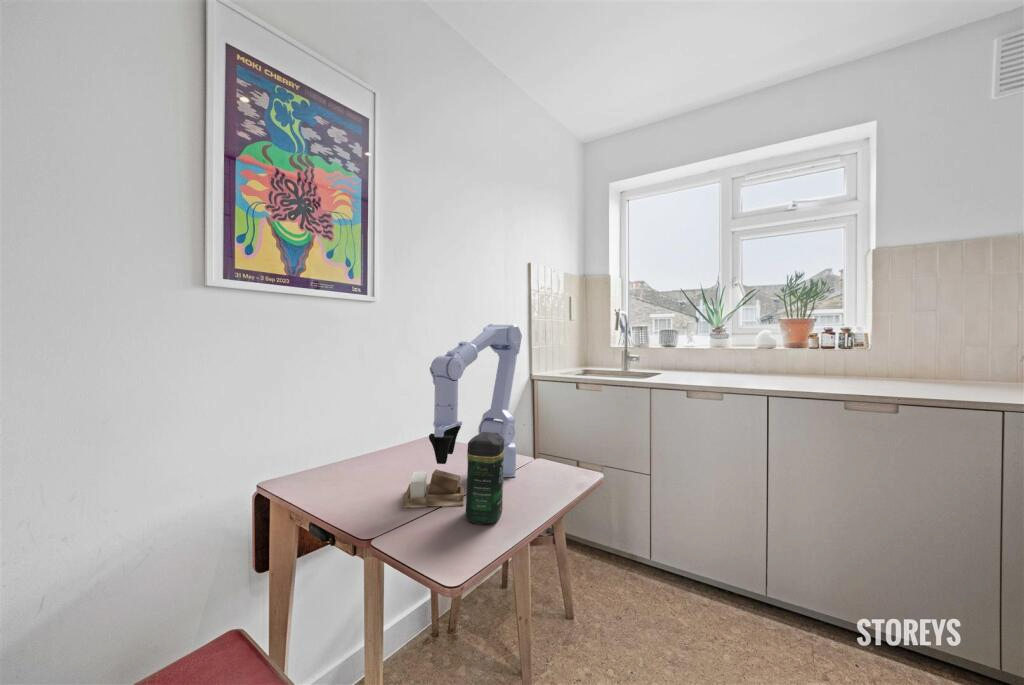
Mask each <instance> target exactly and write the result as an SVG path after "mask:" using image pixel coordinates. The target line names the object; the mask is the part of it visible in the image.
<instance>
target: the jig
mask: <svg viewBox="0 0 1024 685" xmlns="http://www.w3.org/2000/svg"><path fill="white" fill-rule="evenodd" d="M429 486H430V482H427V487H426V495H425V498H413V499H410V483H409V484H408V486H407V489H406V492H405V495H404V498H403V505H402V506H403V507H402V508H407V507H411V508H428V507H427V506H442V507H463V506H464V492H465V491H464V484H462V485H461V484H459V485H458V489H457V493H456V494H438V495H436V494H432V493H429V492H428V490H429ZM425 506H426V507H425Z"/></svg>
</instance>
